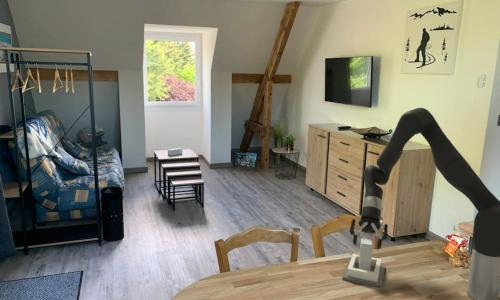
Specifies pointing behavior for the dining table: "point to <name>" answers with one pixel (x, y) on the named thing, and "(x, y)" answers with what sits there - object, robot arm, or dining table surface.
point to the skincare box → (365, 254)
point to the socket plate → (364, 272)
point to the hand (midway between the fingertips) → (366, 247)
